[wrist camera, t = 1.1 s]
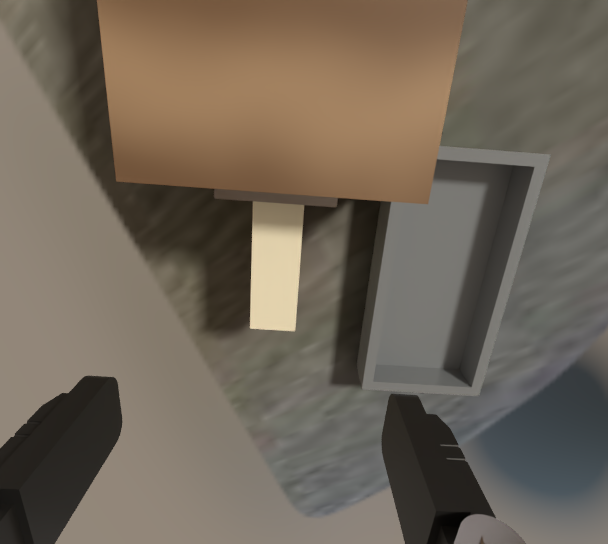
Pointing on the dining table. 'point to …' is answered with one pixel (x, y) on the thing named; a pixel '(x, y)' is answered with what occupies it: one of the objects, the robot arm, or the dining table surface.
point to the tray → (447, 273)
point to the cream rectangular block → (275, 265)
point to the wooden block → (280, 95)
